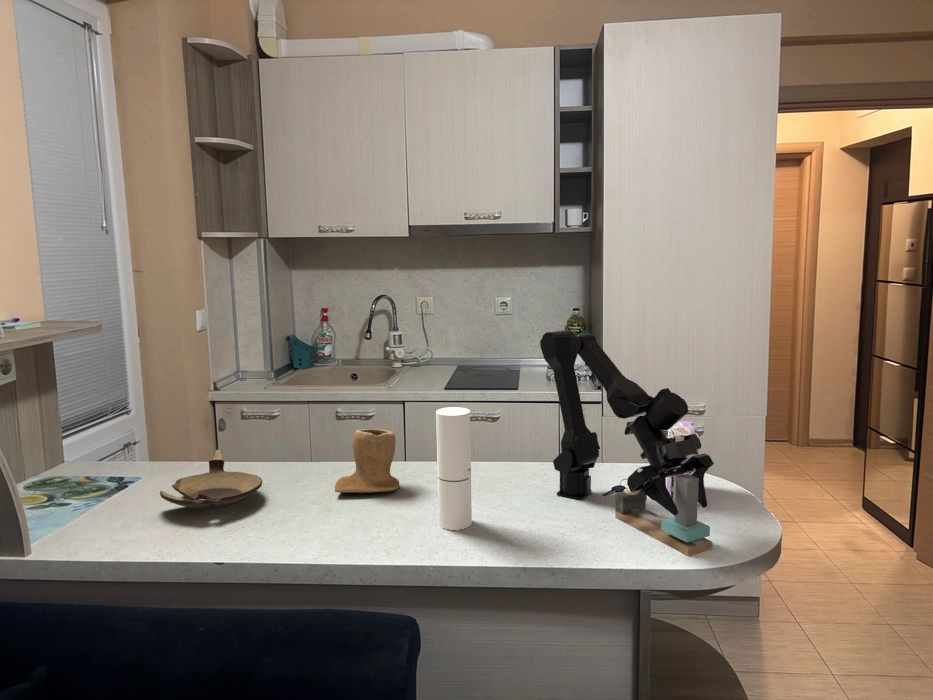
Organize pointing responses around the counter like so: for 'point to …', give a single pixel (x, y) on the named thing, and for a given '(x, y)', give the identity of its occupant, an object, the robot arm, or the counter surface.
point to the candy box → (678, 435)
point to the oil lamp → (214, 486)
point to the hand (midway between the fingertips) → (691, 510)
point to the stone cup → (370, 463)
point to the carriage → (686, 512)
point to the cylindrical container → (454, 467)
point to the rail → (652, 522)
